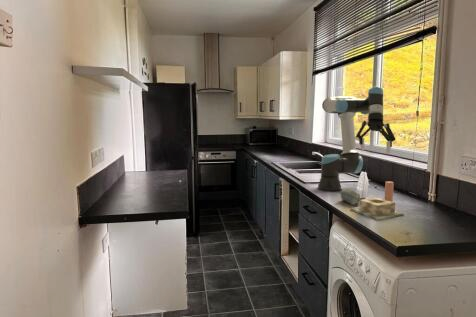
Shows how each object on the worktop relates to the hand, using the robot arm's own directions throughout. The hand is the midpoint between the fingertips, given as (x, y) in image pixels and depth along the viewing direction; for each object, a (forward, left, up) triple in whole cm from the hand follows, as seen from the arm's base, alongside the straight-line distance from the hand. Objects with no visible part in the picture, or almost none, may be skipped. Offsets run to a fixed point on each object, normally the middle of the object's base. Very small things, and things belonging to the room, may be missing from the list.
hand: (375, 151), depth 169 cm
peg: (+1, +10, -31) cm, 33 cm away
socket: (+5, -3, -31) cm, 32 cm away
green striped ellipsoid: (-15, -2, -31) cm, 34 cm away
